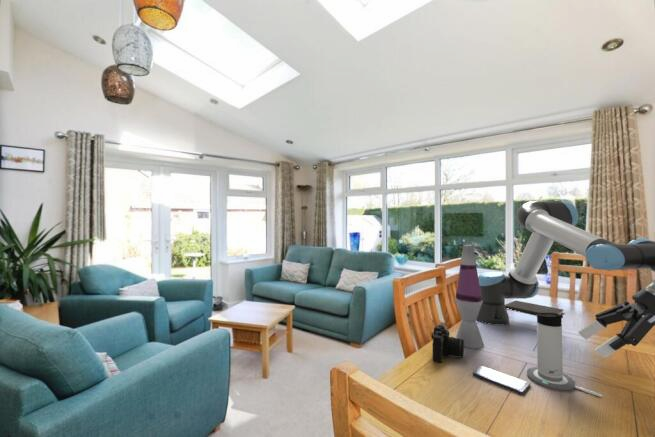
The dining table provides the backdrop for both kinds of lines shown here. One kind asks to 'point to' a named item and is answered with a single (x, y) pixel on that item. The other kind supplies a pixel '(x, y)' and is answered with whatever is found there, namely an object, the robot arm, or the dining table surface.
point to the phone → (502, 380)
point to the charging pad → (563, 385)
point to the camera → (445, 344)
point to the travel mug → (549, 346)
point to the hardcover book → (532, 308)
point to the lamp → (469, 299)
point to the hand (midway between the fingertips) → (589, 344)
